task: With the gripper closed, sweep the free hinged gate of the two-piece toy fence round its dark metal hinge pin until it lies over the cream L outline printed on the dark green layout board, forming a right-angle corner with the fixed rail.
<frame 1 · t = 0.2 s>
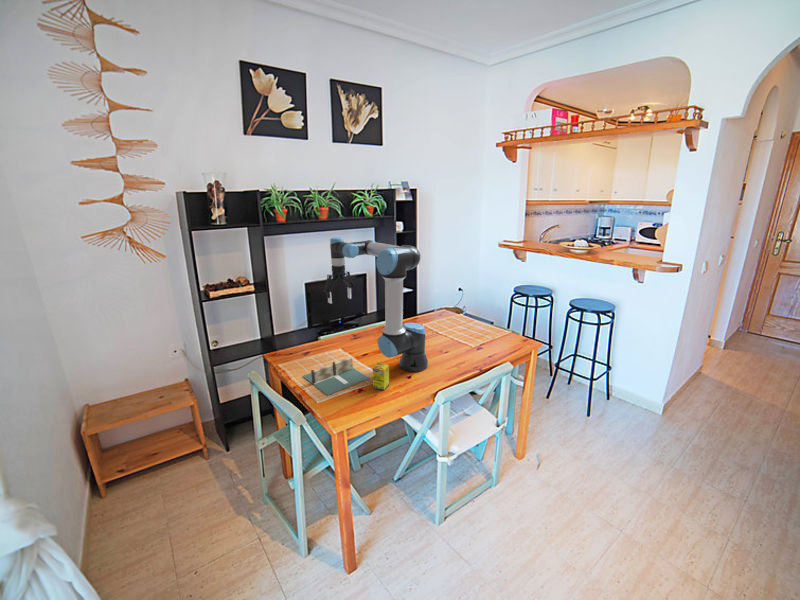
hand: (340, 300, 219), 28 cm above the table, fingers open, 13 cm apart
hinged gate: (342, 365, 192), point 4 cm above the table, hinge at 0.0°
supplement box: (381, 387, 179), on the table
fixed rail: (323, 379, 186), resting on layout board
layout board: (335, 377, 188), on the table
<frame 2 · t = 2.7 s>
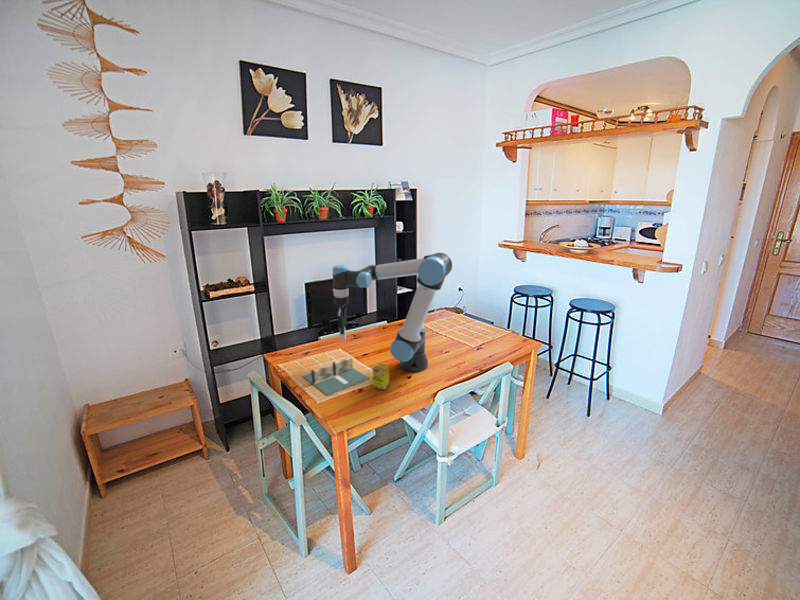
hand: (342, 338, 196), 15 cm above the table, fingers closed
nothing on the table moved.
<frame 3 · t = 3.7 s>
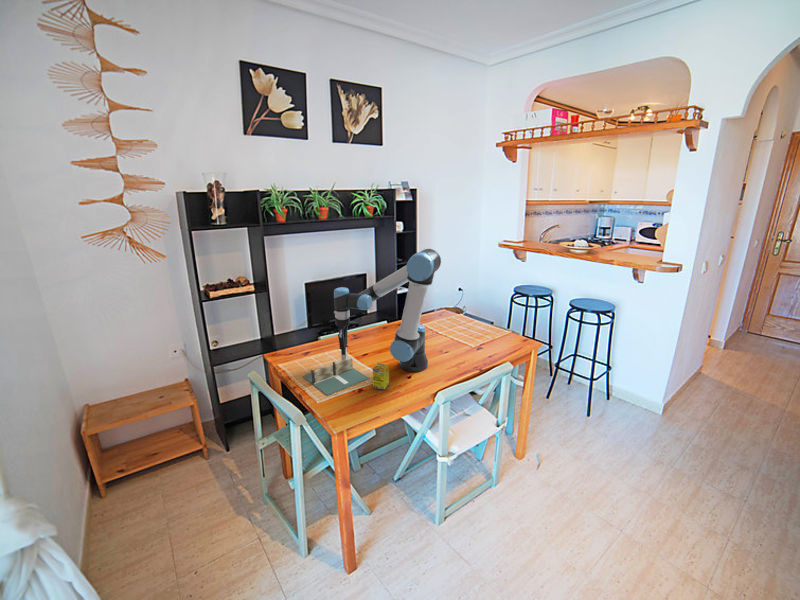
hand: (344, 359, 200), 4 cm above the table, fingers closed
nothing on the table moved.
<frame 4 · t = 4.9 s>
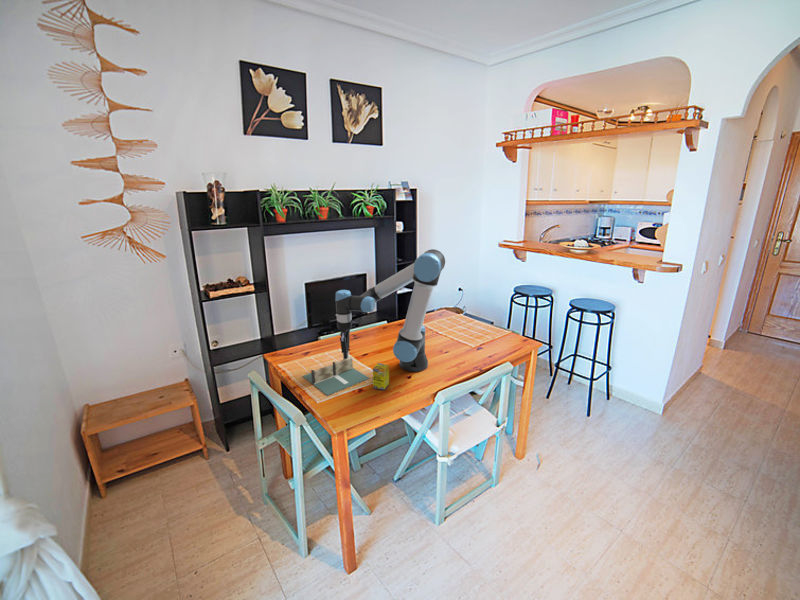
hand: (346, 362, 196), 3 cm above the table, fingers closed
hinged gate: (342, 365, 192), point 4 cm above the table, hinge at 0.0°, touching gripper
everything else where it was.
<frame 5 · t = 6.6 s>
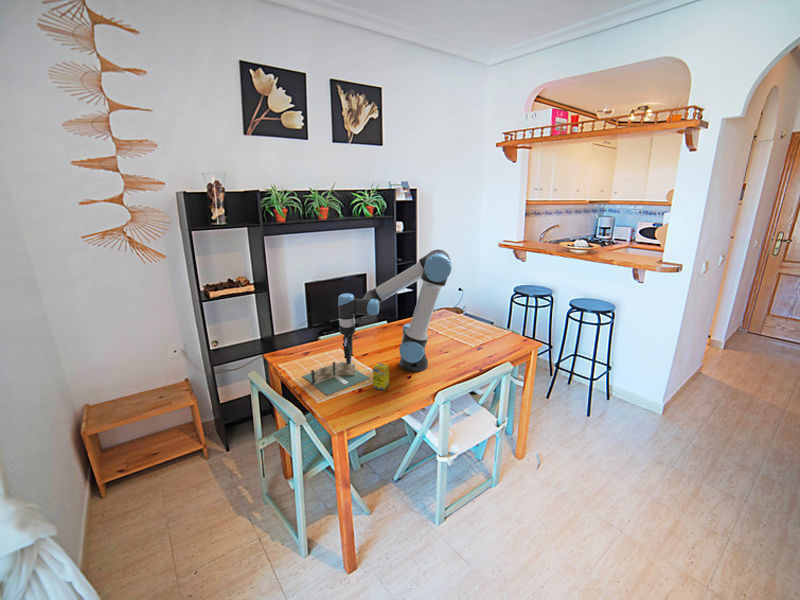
hand: (349, 368, 190), 3 cm above the table, fingers closed
hinged gate: (344, 368, 188), point 4 cm above the table, hinge at 41.1°, touching gripper
everything else where it was.
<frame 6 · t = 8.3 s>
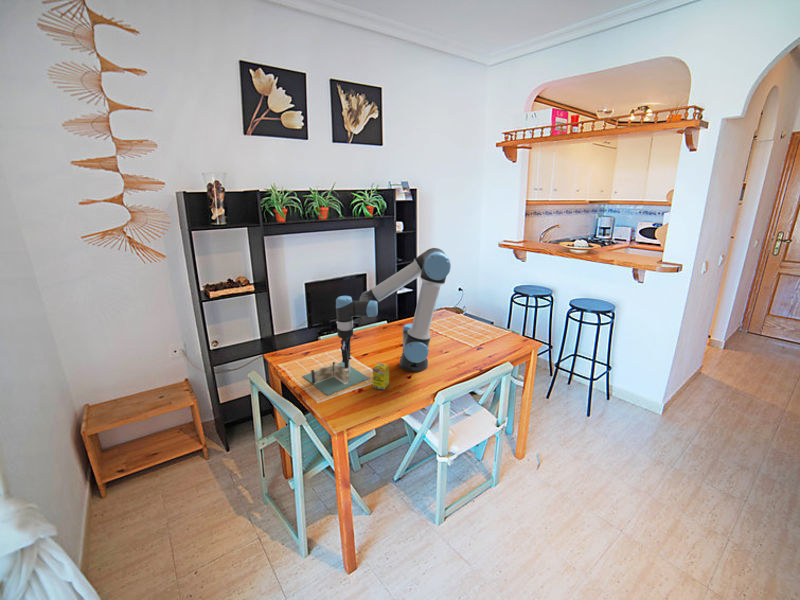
hand: (347, 372, 186), 3 cm above the table, fingers closed
hinged gate: (340, 371, 185), point 4 cm above the table, hinge at 82.7°
everything else where it was.
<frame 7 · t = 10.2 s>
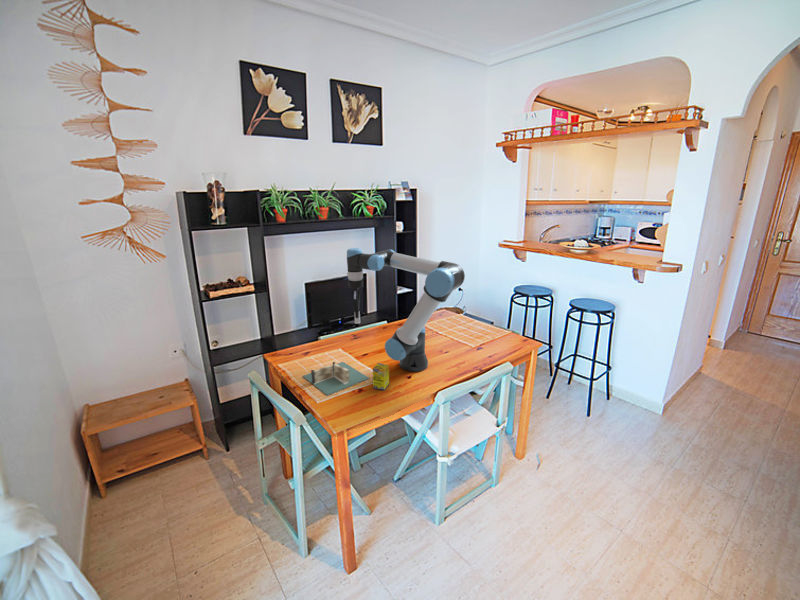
hand: (357, 323, 196), 23 cm above the table, fingers closed
hinged gate: (340, 371, 185), point 4 cm above the table, hinge at 82.3°
everything else where it was.
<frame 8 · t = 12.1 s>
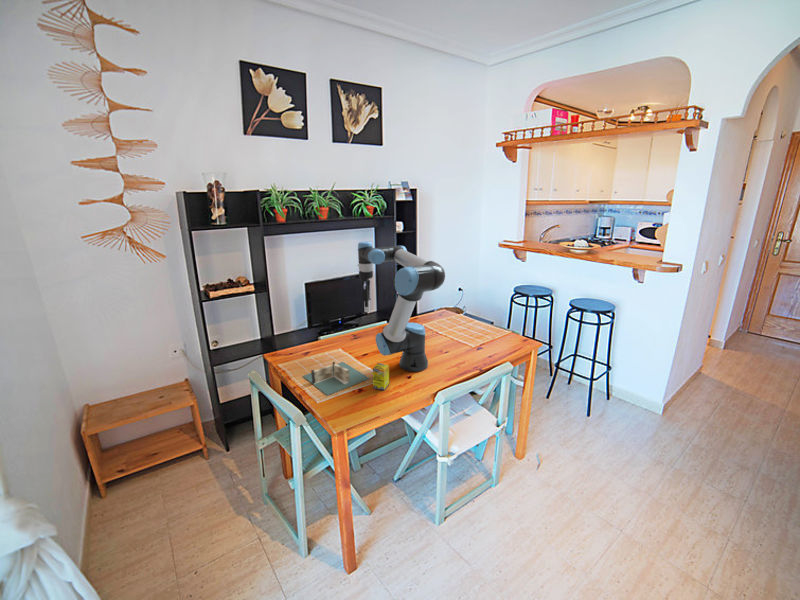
hand: (367, 311, 210), 24 cm above the table, fingers closed
nothing on the table moved.
at the end: hinged gate at +82° (first picture: +0°) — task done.
